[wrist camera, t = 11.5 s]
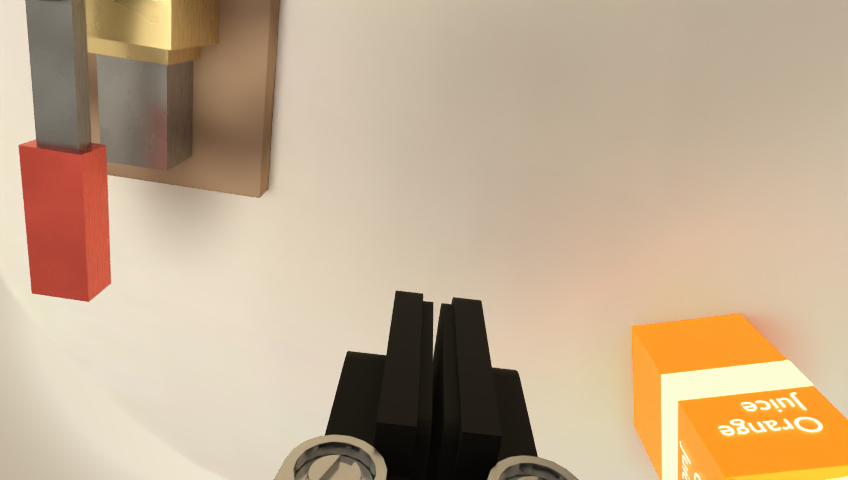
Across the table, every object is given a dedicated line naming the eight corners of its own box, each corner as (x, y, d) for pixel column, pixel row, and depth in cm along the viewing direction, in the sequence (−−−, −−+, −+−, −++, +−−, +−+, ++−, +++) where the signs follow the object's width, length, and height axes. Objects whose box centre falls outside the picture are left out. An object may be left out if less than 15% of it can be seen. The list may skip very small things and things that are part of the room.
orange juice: (632, 427, 45) (772, 722, 26) (629, 325, 42) (785, 578, 23) (738, 415, 44) (958, 709, 26) (743, 311, 41) (998, 560, 23)
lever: (105, -78, 24) (64, -89, 21) (117, 284, 29) (85, 310, 27) (24, -92, 23) (-28, -105, 21) (51, 274, 29) (13, 300, 27)
